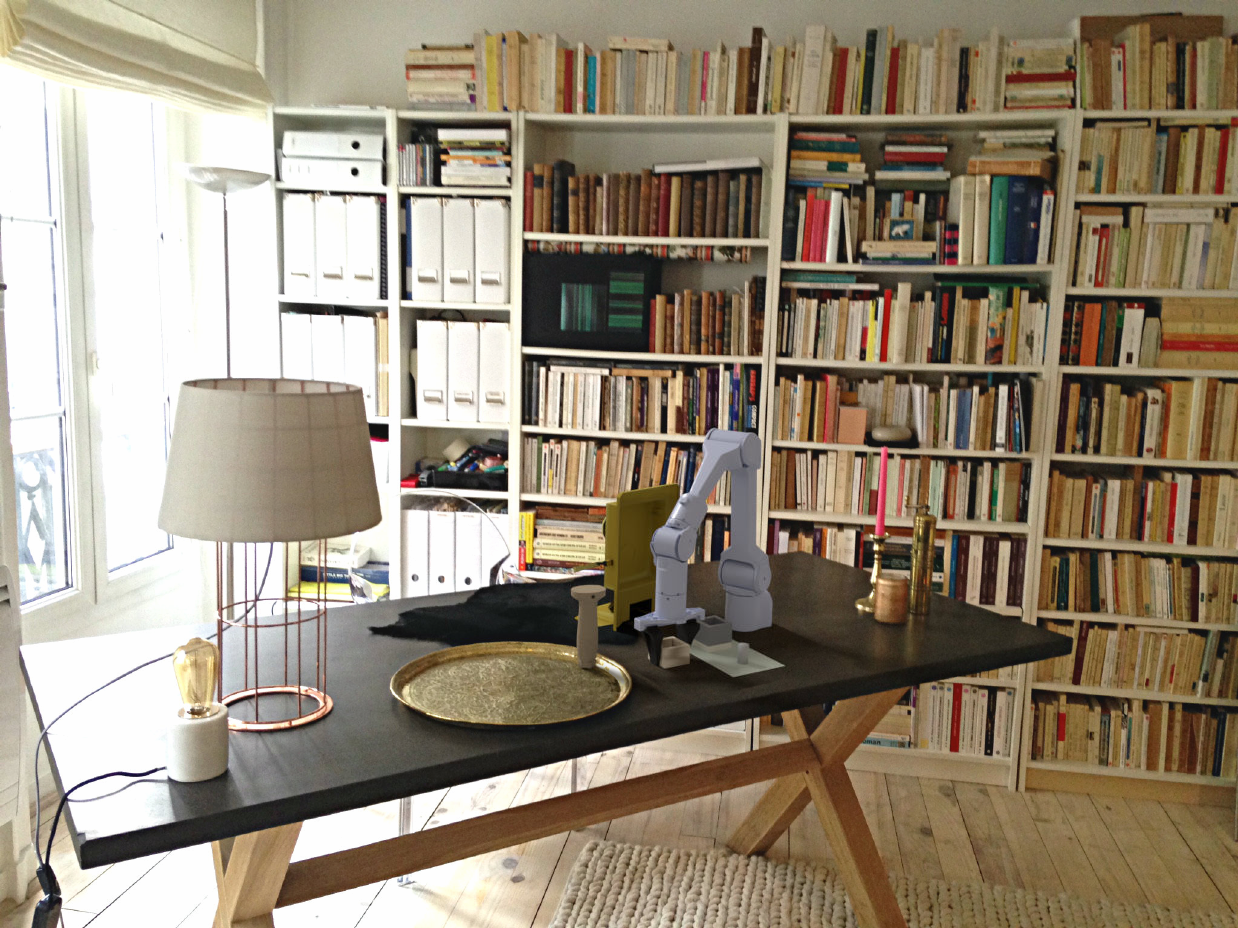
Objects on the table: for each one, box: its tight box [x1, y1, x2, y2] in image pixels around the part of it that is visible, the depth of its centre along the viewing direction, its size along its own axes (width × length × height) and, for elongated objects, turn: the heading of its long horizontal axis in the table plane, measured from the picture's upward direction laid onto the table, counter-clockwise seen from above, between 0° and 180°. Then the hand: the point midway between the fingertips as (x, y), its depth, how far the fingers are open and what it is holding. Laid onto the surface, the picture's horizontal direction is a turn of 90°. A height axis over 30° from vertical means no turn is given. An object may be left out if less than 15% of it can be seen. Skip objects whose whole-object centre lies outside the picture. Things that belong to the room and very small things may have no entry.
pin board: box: [690, 638, 786, 678], centre depth 193 cm, size 12×20×5 cm, turn 31°
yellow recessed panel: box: [572, 482, 693, 632], centre depth 214 cm, size 31×14×30 cm, turn 135°
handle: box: [570, 584, 607, 669], centre depth 188 cm, size 5×6×15 cm
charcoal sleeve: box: [692, 614, 733, 653], centre depth 197 cm, size 6×6×5 cm
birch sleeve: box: [647, 636, 691, 669], centre depth 189 cm, size 6×6×5 cm
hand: (668, 661), depth 189 cm, fingers closed on birch sleeve, 6 cm apart
